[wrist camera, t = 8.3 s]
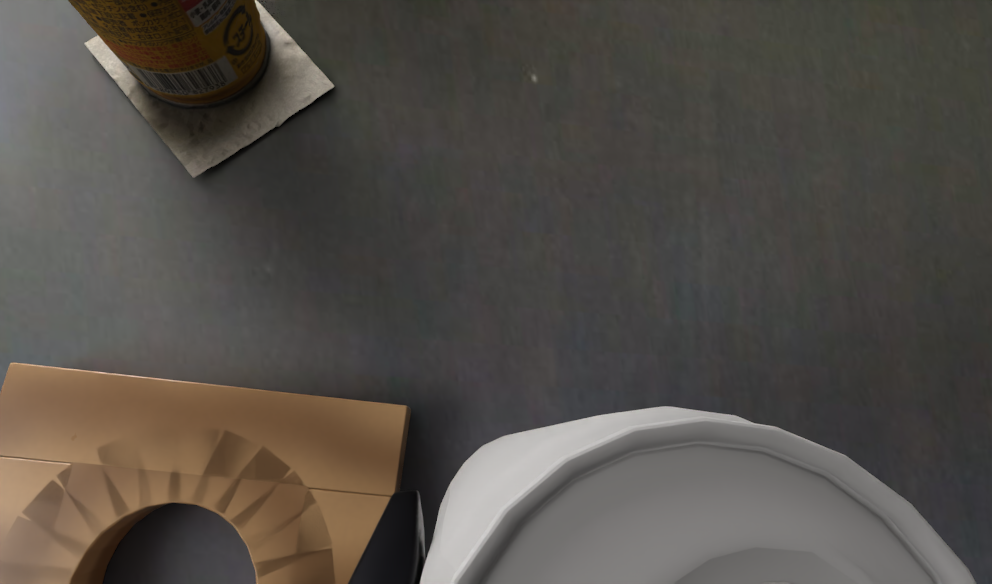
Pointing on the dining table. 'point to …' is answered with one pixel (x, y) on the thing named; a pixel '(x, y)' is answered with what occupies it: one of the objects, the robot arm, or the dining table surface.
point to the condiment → (203, 71)
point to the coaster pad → (188, 471)
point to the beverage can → (677, 509)
